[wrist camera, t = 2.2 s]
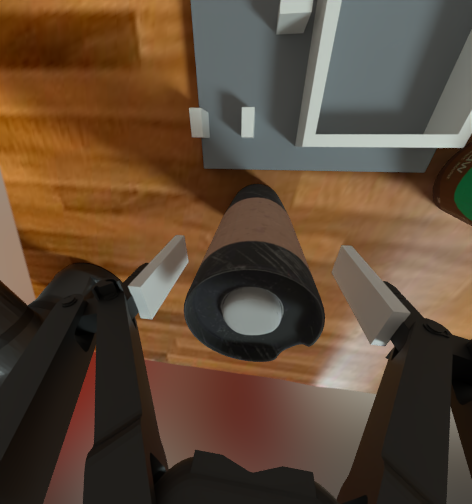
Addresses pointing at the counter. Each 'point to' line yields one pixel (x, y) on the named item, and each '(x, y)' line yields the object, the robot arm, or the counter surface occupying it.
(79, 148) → the counter surface
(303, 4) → the clips
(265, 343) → the travel mug
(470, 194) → the food container
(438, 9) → the grey fixture board
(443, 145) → the end holder
